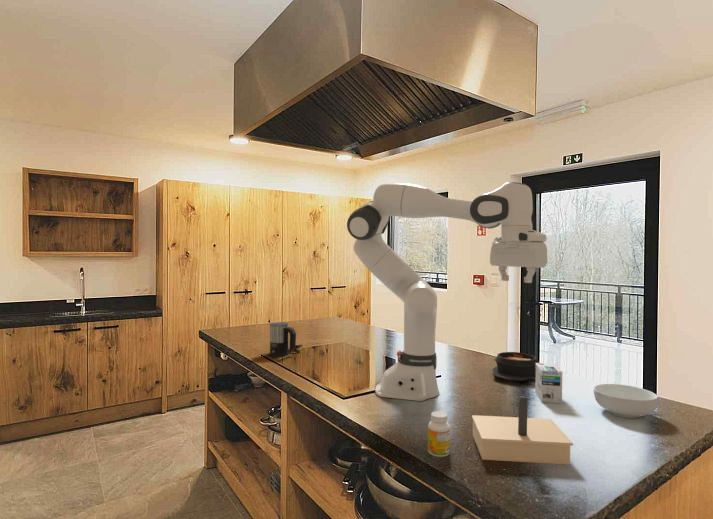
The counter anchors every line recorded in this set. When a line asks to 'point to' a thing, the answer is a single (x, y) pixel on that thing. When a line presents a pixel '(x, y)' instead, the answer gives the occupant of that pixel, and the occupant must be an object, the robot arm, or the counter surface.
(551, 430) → the mailer lid
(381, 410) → the counter surface
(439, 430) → the supplement bottle
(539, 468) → the counter surface
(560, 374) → the light bulb box
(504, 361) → the casserole
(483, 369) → the counter surface
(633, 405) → the cereal bowl
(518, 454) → the tray
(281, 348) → the milk frother
